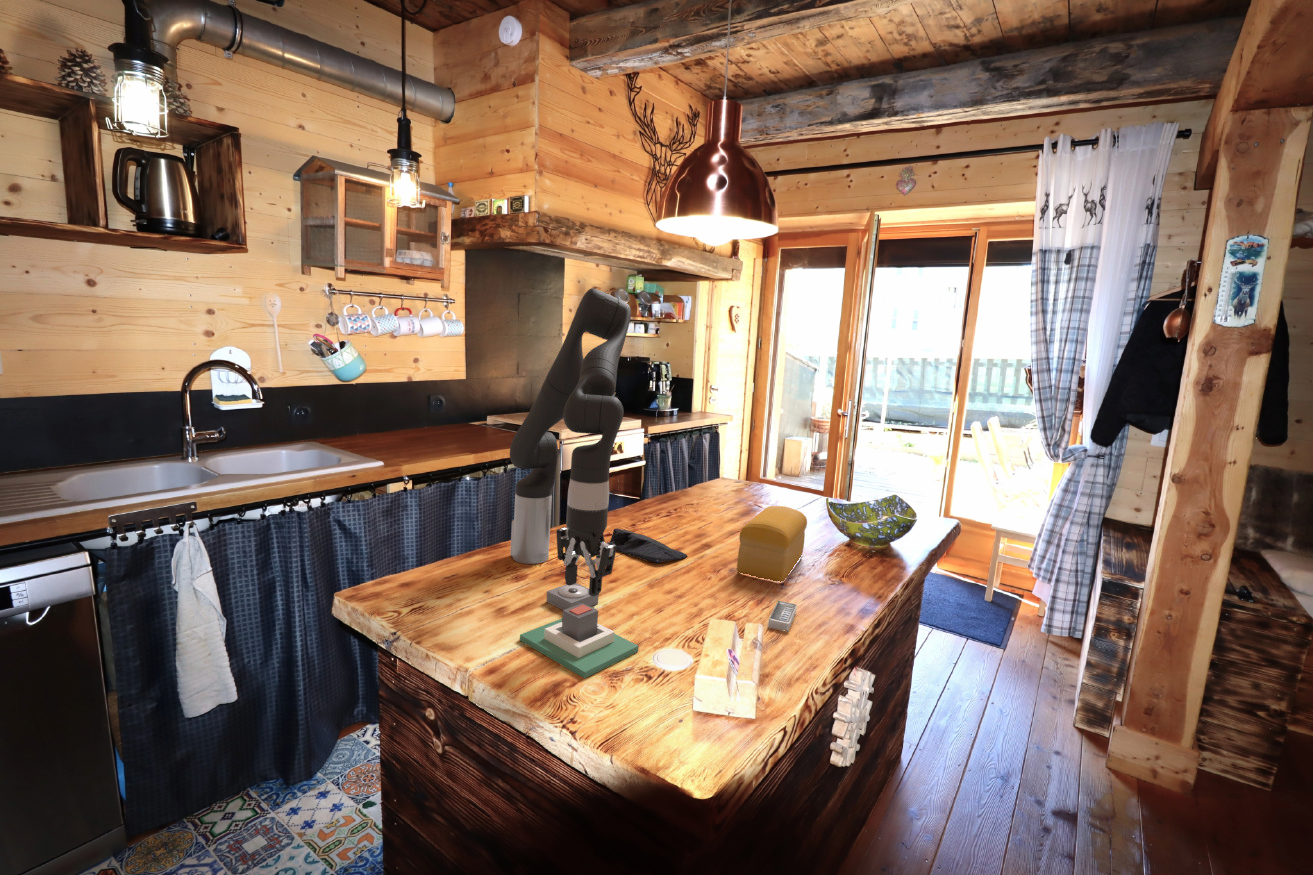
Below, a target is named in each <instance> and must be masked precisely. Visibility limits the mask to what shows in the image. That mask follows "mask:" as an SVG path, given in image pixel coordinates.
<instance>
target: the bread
mask: <svg viewBox="0 0 1313 875" xmlns="http://www.w3.org/2000/svg"><path fill="white" fill-rule="evenodd" d="M807 525H808V519H807V516H806V515H805V514H804V513H803V512H802V511H799V510H798V509H794V508H792V507H789V506H783V505H770V506H769V505H768V506H767V507H765V508H764V509H763V510H762V511H761V512H759V513H758V514H757V515H755V516H754V517H753V518H752V519H751V520H749V521H748V522H747V523H746V524H744V525H743V527H742V528H741V529H740V532H739V543H740V544H739V548H738V554H737V562H736V571H738V572H740V573H743V574H749V575H751V576H756V577H758V578H764V579H770V580H773V581H780V582H781V581H784V580H785V578H786V577H787V576H788V574H789V573H790V571H791V570H792V569H793V567H794V565H795V564H796V563H797V561H798V560H799V558H800V557H801V555H802V556H803V552H804V547H805V546H804V545H805V536H806V535H805V534H806V533H805V532H806V529H807ZM801 558H802V557H801ZM738 572H737V573H738Z"/></svg>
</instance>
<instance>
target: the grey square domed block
mask: <svg viewBox="0 0 1313 875" xmlns="http://www.w3.org/2000/svg"><path fill="white" fill-rule="evenodd" d="M599 595H600V593H599V594H598V595H596V596H590V595H589V587H586V586H584V585H581V584H579V583H577V582H576V583H575V584H573V585H570V586H569V585H566V584H564V585H562V586H558V587H555V588H553V589H549V590H547V591H546V601H545V602H546V603H548V604H550V605H551V606H554V607H556V608H558V609H560V610H561V611H563V610H565V609H568V608H570V607H573V606H576V605H578V604H581V603H583V604H585V605H588V606H591V607H594V606H596V605H598V604H599Z"/></svg>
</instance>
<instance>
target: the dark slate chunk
mask: <svg viewBox="0 0 1313 875" xmlns="http://www.w3.org/2000/svg"><path fill="white" fill-rule="evenodd" d="M606 543H607V544H609V545H613V544H614V545H616V552H618V551H619V552H618V553H621V552H622V553H621V554H624V555H629V554H630V556H632V557H634V556H635V557H634V558H637V557H638V558H637V559H641V560H643V559H644V561H646V560H647V561H646V562H649V561H652V562H651V563H654V562H655V563H654V564H661V563H663V562H671V561H670V560H672V561H677V560H678V559H679V560H683V559H682V558H684V559H686V558H687V557H686V556H687V555H688V554H687V553H684V552H683V551H681V550H677V549H673V548H671V547H669V546H667V545H666V544H664V543H662V542H660V541H658V540H656V539H653V538H652V537H649V536H647V535H644V534H641V533H636V532H633V531H631V530H627V529H621V528H614V529H613V531H612V535H611V537H610V541H609V542H608V541H607V542H606ZM685 557H686V558H685ZM679 560H678V561H679Z"/></svg>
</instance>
